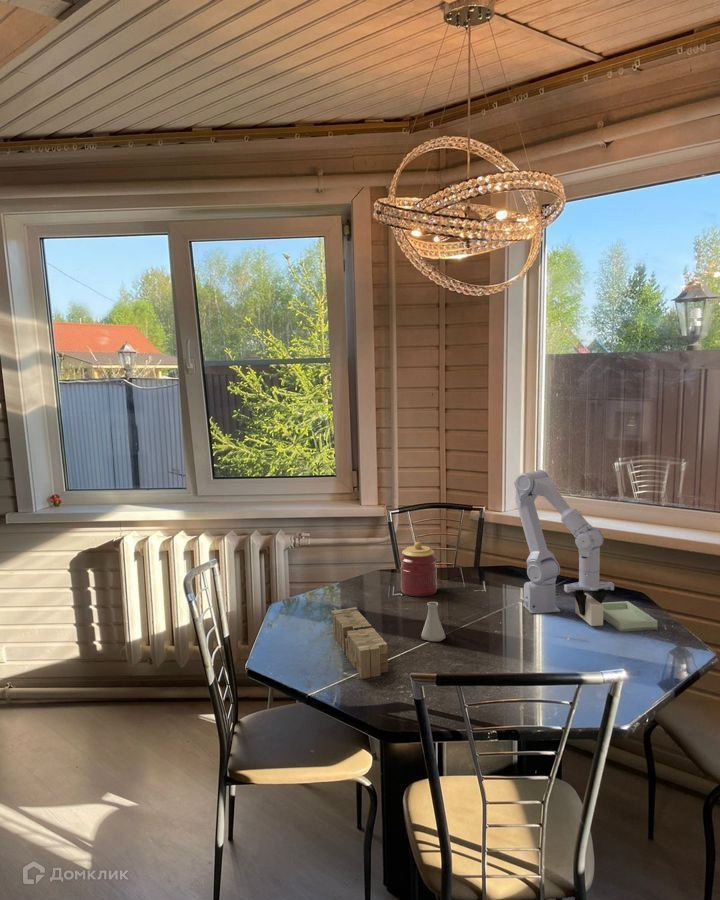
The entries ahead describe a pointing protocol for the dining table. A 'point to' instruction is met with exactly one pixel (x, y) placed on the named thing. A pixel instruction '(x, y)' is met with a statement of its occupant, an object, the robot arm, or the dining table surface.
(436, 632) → the flask
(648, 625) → the tray
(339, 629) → the block tower
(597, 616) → the beige rectangular block
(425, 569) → the canister
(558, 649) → the dining table surface
